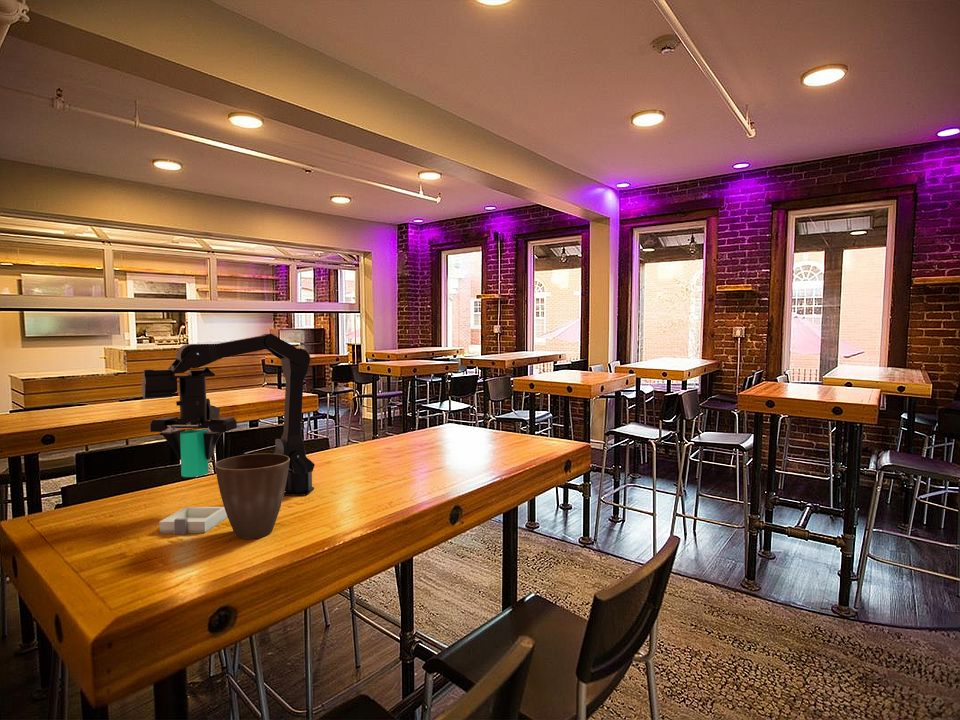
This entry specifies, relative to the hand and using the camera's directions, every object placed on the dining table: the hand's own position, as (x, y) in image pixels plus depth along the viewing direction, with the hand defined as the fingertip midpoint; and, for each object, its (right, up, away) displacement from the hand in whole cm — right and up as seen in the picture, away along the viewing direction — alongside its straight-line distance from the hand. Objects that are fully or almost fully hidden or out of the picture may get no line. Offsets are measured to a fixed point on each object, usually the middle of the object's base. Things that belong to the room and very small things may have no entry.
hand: (194, 459), depth 129 cm
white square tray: (+4, -13, -8) cm, 16 cm away
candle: (0, -4, 0) cm, 4 cm away
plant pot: (+20, -14, -13) cm, 28 cm away
